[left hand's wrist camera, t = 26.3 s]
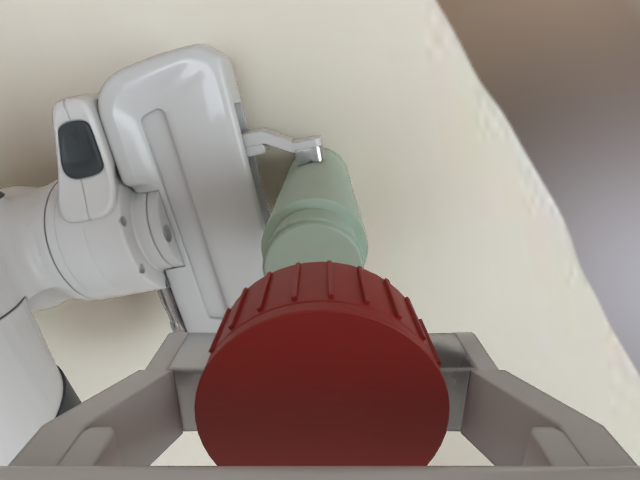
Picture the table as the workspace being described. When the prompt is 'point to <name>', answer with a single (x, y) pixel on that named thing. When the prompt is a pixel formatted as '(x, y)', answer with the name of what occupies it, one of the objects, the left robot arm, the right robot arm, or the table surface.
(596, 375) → the table surface
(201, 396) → the lid
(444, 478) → the left robot arm
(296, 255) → the jar
